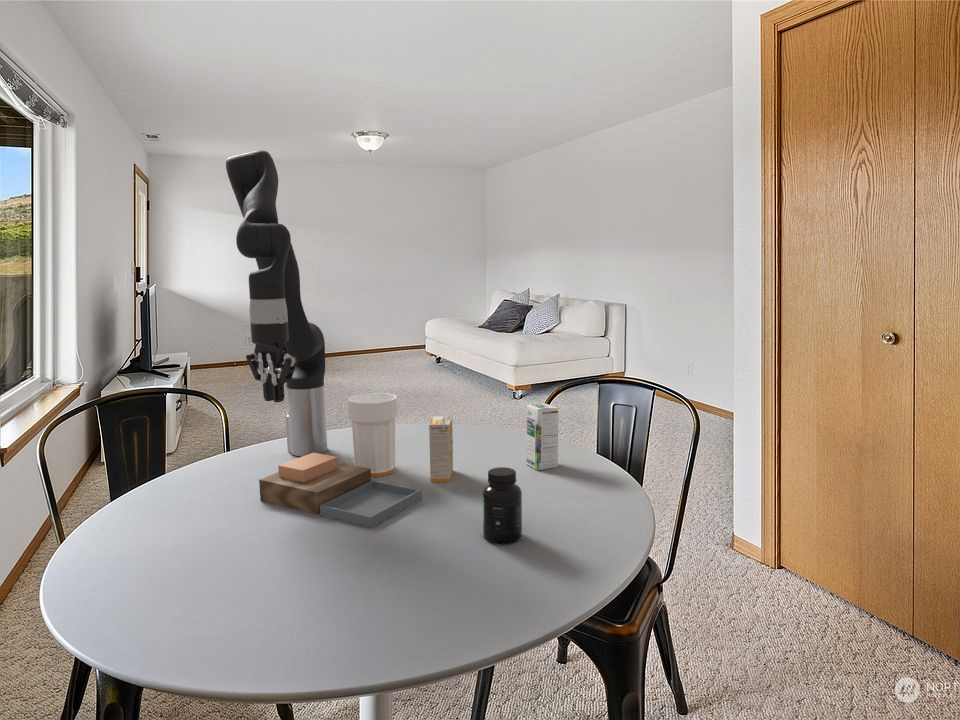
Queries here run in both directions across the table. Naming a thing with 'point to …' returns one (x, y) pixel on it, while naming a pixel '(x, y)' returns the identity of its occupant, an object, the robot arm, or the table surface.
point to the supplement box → (441, 448)
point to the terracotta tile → (308, 467)
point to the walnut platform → (313, 488)
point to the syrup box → (542, 436)
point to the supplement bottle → (502, 507)
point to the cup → (374, 431)
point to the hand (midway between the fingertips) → (274, 400)
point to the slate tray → (370, 503)
